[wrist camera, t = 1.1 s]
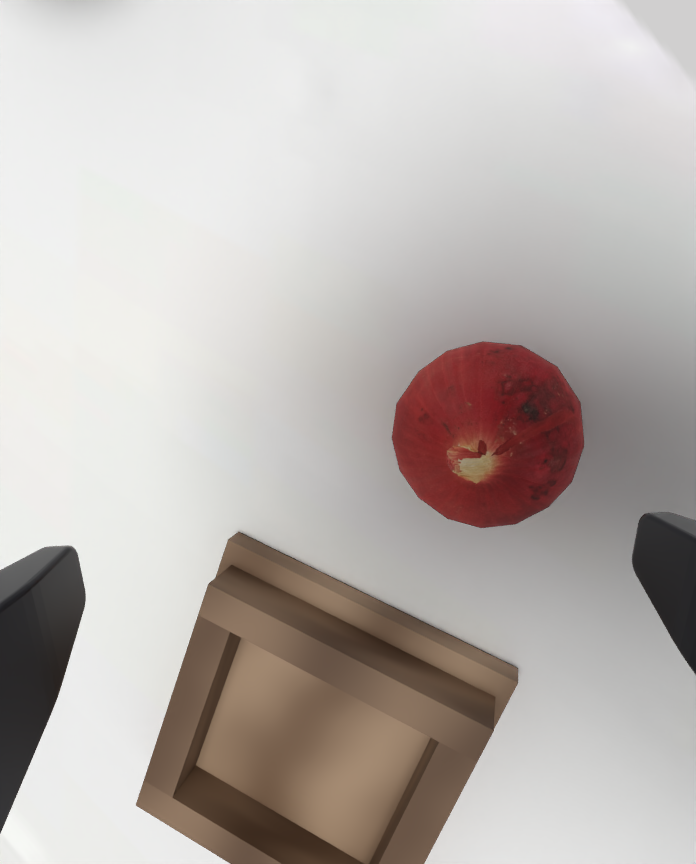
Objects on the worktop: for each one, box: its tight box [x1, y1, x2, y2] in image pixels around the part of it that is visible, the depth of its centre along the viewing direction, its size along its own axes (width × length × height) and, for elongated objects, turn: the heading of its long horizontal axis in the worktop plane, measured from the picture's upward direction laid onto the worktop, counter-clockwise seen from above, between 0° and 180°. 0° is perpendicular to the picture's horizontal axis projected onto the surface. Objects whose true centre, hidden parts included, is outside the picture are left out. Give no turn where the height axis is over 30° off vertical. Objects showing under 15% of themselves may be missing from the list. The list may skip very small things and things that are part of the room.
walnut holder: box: [136, 532, 518, 864], centre depth 25 cm, size 13×14×3 cm
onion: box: [392, 342, 584, 528], centre depth 18 cm, size 6×6×8 cm
